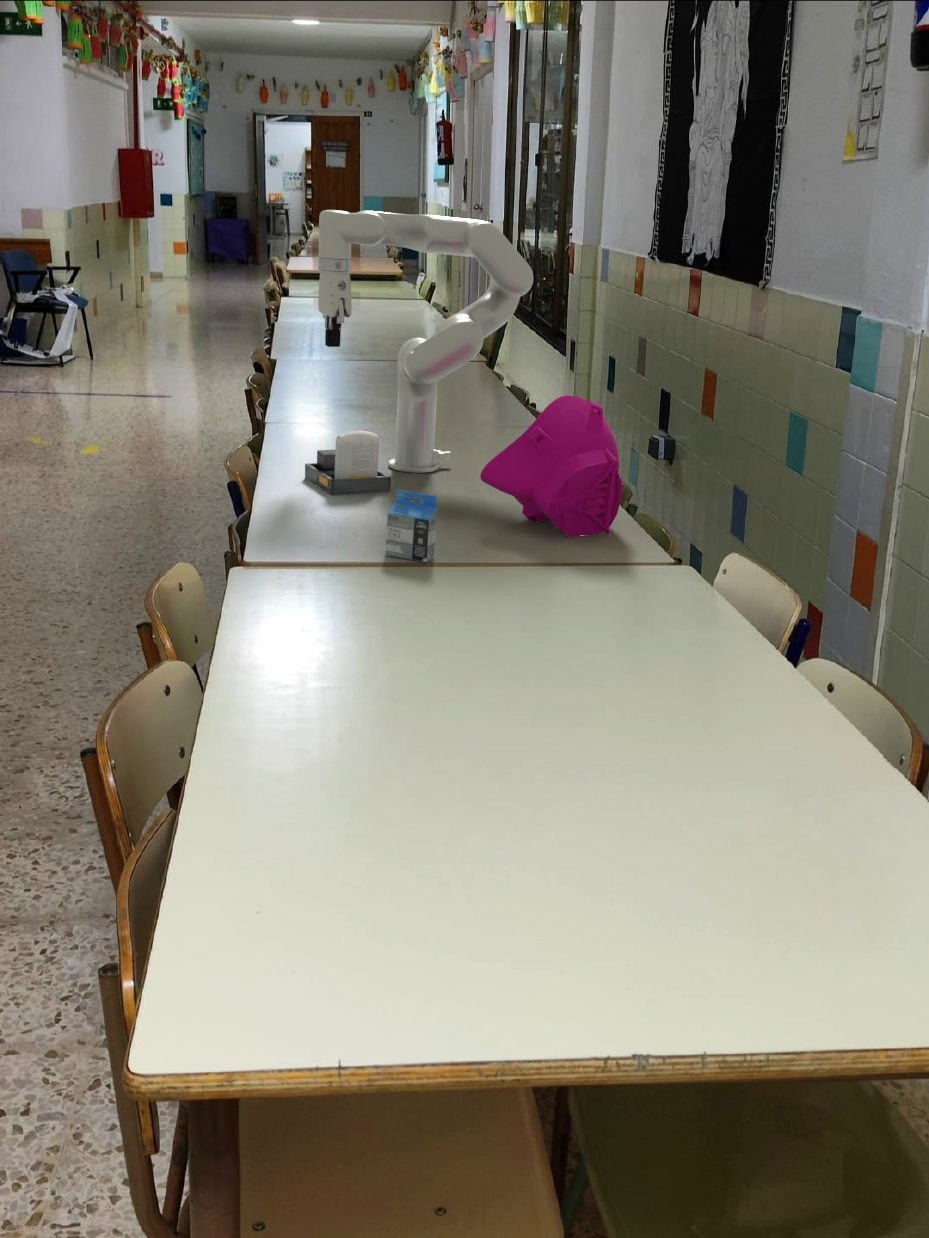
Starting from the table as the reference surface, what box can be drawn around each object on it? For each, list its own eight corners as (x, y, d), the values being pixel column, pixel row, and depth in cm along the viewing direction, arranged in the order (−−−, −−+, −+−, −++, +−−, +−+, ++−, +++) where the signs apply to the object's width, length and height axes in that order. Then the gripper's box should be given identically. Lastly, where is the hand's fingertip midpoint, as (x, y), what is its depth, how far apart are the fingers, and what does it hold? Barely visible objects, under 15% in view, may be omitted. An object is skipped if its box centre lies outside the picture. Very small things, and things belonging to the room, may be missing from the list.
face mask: (638, 550, 257) (509, 577, 248) (592, 495, 274) (469, 518, 264) (656, 437, 240) (518, 461, 231) (605, 386, 256) (474, 406, 247)
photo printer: (371, 480, 281) (373, 428, 277) (380, 485, 278) (382, 431, 273) (331, 483, 276) (332, 430, 272) (339, 488, 273) (340, 434, 268)
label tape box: (384, 556, 230) (386, 493, 226) (393, 550, 234) (395, 489, 229) (426, 563, 227) (430, 500, 223) (434, 558, 231) (438, 495, 227)
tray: (362, 474, 290) (363, 446, 288) (390, 491, 277) (391, 461, 274) (304, 478, 283) (304, 449, 281) (330, 495, 270) (331, 465, 267)
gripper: (362, 269, 276) (359, 351, 282) (337, 263, 288) (335, 341, 294) (331, 269, 272) (329, 351, 278) (307, 263, 284) (306, 342, 291)
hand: (332, 346), depth 286 cm, fingers closed
